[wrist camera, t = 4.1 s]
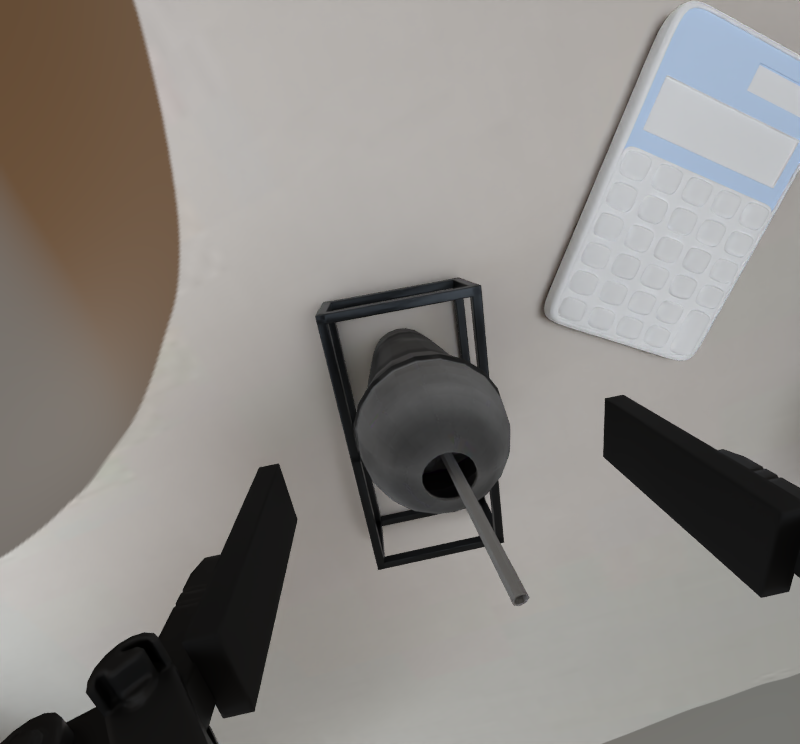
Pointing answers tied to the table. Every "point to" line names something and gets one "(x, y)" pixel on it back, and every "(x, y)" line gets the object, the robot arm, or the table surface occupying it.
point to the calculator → (683, 186)
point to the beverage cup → (435, 435)
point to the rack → (348, 411)
